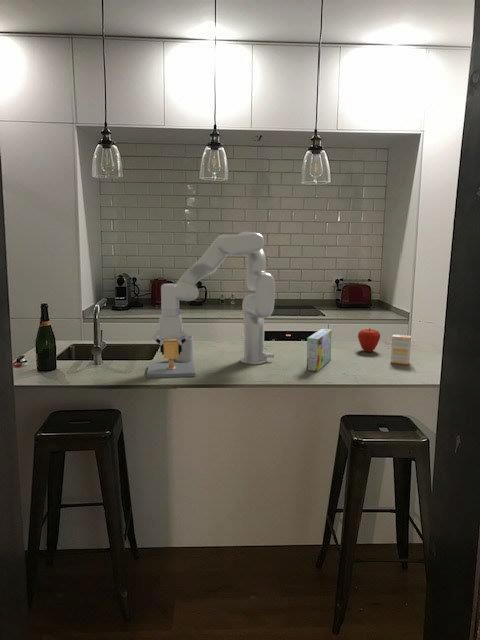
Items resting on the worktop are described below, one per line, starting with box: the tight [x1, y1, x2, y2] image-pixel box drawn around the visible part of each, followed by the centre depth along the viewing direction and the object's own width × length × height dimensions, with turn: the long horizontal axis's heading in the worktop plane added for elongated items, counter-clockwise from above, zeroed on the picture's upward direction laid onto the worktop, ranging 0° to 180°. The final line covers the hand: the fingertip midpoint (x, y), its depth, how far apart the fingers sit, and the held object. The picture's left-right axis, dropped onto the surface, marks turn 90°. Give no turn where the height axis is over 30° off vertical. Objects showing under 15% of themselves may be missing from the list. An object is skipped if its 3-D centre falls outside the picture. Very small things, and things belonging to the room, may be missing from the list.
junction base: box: [146, 359, 196, 379], centre depth 216 cm, size 20×16×6 cm
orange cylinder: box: [163, 339, 179, 360], centre depth 215 cm, size 6×6×7 cm
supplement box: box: [390, 333, 412, 366], centre depth 232 cm, size 8×5×13 cm, turn 65°
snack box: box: [306, 328, 332, 372], centre depth 227 cm, size 21×6×15 cm, turn 154°
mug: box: [174, 335, 194, 363], centre depth 236 cm, size 12×8×11 cm
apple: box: [357, 328, 381, 353], centre depth 253 cm, size 11×11×12 cm
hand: (171, 353), depth 215 cm, fingers closed on orange cylinder, 6 cm apart
